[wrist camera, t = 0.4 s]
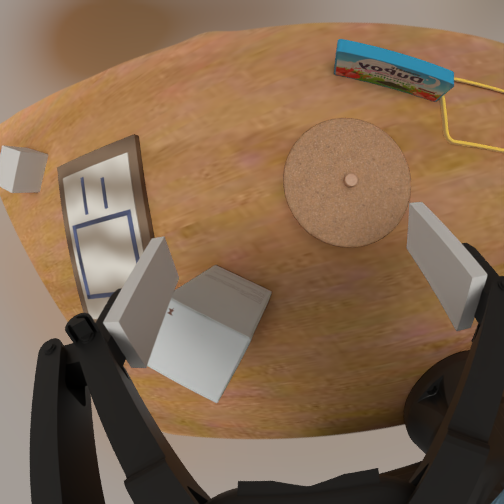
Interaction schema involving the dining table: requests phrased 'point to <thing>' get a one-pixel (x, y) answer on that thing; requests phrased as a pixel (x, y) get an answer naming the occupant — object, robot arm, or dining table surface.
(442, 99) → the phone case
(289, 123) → the dining table surface
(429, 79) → the yogurt
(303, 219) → the lidded jar
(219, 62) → the dining table surface
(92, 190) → the brown framed board
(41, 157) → the gray cube
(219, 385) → the supplement box
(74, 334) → the robot arm
